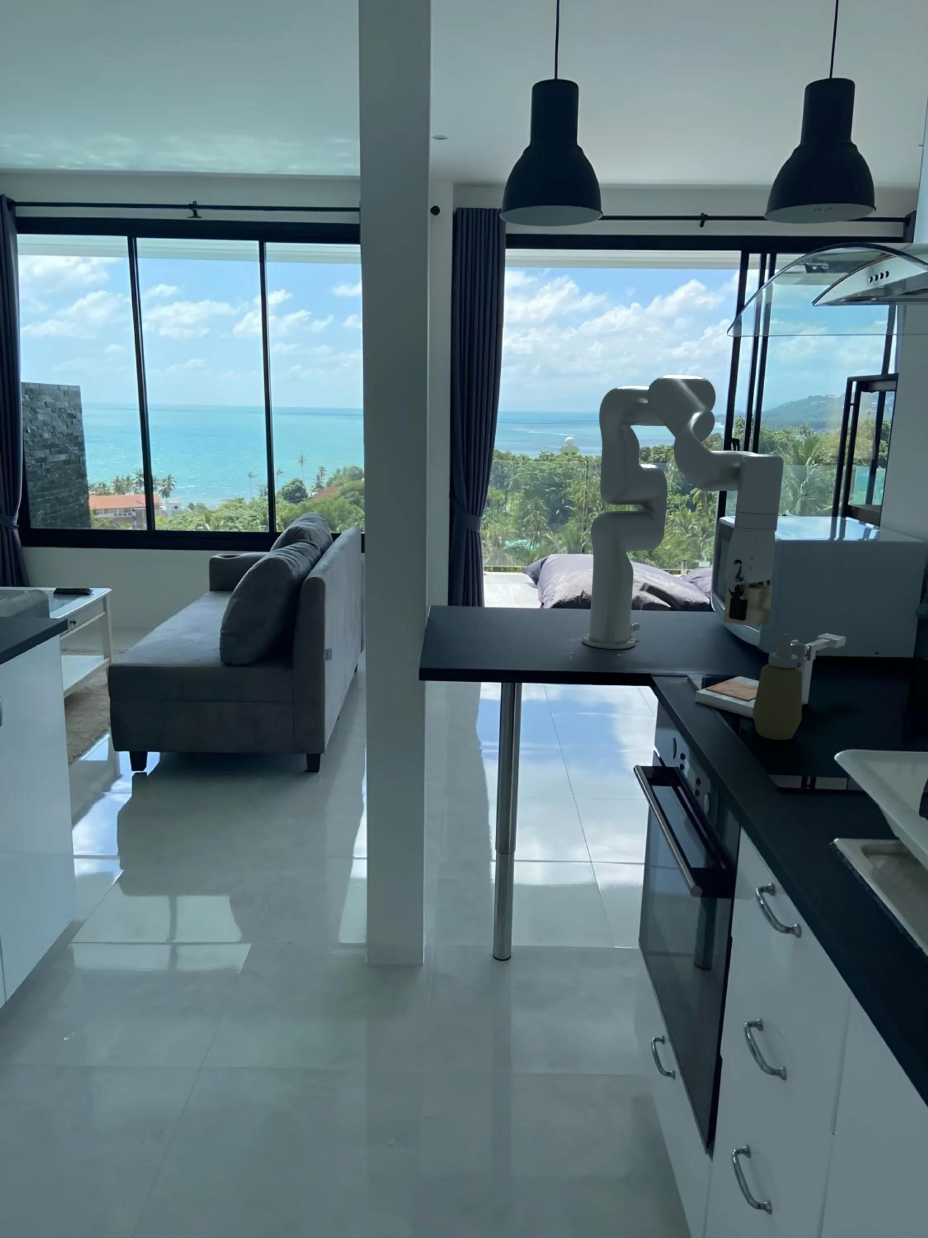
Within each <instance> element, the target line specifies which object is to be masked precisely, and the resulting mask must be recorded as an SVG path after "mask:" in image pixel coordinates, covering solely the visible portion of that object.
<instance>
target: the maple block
mask: <svg viewBox="0 0 928 1238" xmlns="http://www.w3.org/2000/svg"><path fill="white" fill-rule="evenodd" d="M739 587H740V589H741V591H742V588H743V586H739ZM773 588H774V587H773V586H772V585H769V586H767V585H761V584H750V585H749V588H748V592H747V595H746V598H745V599H746V600H748V601H747V611H746V619H745V620H744V621H741V620H736V619H731V618H729V609H730V599H731V598H730V597H729V594H730V592H729V590H728V586H727V585H726V593H725V601H724V603H725V604H724V613H723V622H725V623H730V624H735V625H741V626H745V627H749V628H754V627H758V626H761V625H766V624H768V623H770V613H771V605H772V603H771V602H772V597H773V596H772V594H773Z"/></svg>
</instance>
